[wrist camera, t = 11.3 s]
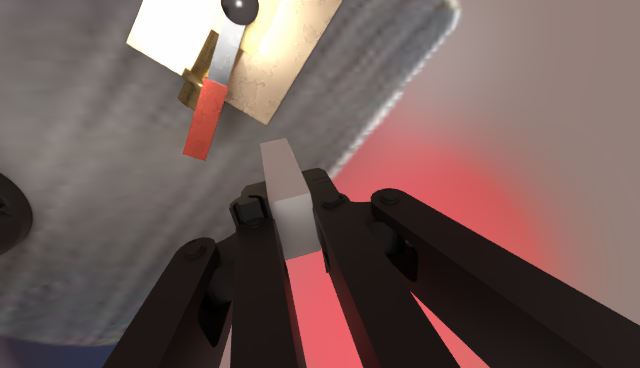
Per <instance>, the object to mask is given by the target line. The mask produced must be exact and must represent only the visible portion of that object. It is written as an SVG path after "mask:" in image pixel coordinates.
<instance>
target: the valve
mask: <svg viewBox="0 0 640 368" xmlns="http://www.w3.org/2000/svg"><path fill="white" fill-rule="evenodd" d="M341 2H342V0H259V12H258V15H257V18H256V19H255V21H254V22H253V23H251V24H250V25H247V26H245V29H244V32H243V35H242V39H241V42H240V45H239V48H238V51H237V55H236V58H235V61H234V64H233V67H232V71H231V74H230V77H229V80H228V83H227V85H229V88H228V91H227V94H226V97H225V100H224V101H226V102H228V103H229V104H231V105H233V106H234V107H236V108H238V109H239V110H241V111H243V112H245V113H246V114H248V115H250V116H251V117H253V118H255V119H256V120H258V121H260V122H262V123H263V124H265V125H267V124H268V123H269V121H270V119H271V118H272V116H273V114H274V113H275V111H276V109H277V108H278V106H279V104H280V103H281V101H282V99H283V98H284V96H285V94H286V93H287V91H288V90H289V88H290V86H291V85H292V83H293V81H294V80H295V78H296V76H297V75H298V73H299V71H300V70H301V68H302V66H303V65H304V63H305V61H306V60H307V58H308V56H309V55H310V53H311V52H312V50H313V48H314V47H315V45H316V43H317V42H318V40H319V38H320V37H321V35H322V33H323V32H324V30H325V28H326V27H327V25H328V23H329V22H330V20H331V18H332V17H333V15H334V13H335V12H336V10H337V9H338V7H339V5H340V4H341ZM224 17H225V14H224V12H223V10H222V7H221V3H220V0H144V1H143V4H142V6H141V9H140V11H139V13H138V16H137V18H136V21H135V23H134V26H133V28H132V31H131V33H130V35H129V38H128V40H127V44H129V45H131V46H132V47H134V48H136V49H137V50H139V51H141V52H142V53H144V54H146V55H148V56H149V57H151V58H153V59H154V60H156V61H158V62H159V63H161V64H163V65H165V66H166V67H168V68H170V69H171V70H173V71H175V72H176V73H178V74H180V75H181V76H182V78H183V79H184V80H185V83H184V85H183V87H182V89H181V91H180V93H179V95H178V99H179V100H180V101H181V102H182V103H183V104H184V105H186V106H187V107H189V108H191V109H193V110H195V109H196V106H197V102H198V98H199V95H200V91H201V88H202V84H203V81H204V78H205V77H206V76H208V73H209V69H210V66H211V62H212V59H213V55H214V52H215V48H216V45H217V41H218V38H219V34H220V31H221V27H222V24H223V20H224Z"/></svg>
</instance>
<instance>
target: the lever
mask: <svg viewBox="0 0 640 368" xmlns="http://www.w3.org/2000/svg"><path fill="white" fill-rule="evenodd" d="M220 3H221V7H222V10H223V12H224V14H225V17H224V20H223V24H222V27H221V31H220V34H219V38H218V41H217V45H216V48H215V52H214V55H213V59H212V62H211V66H210V69H209V73H208V76H206V77H205V78H204V81H203V84H202V88H201V91H200V95H199V98H198V102H197V106H196V109H195V113H194V116H193V120H192V123H191V127H190V130H189V134H188V137H187V141H186V145H185V148H184V152H183V154H184V155H188V156H191V157H194V158H197V159H201V160H204V161H205V160H206V157H207V154H208V151H209V148H210V145H211V142H212V138H213V135H214V132H215V129H216V126H217V123H218V119H219V116H220V113H221V110H222V107H223V104H224V100H225V97H226V94H227V91H228V88H229V85H227V83H228V80H229V77H230V74H231V71H232V67H233V64H234V61H235V58H236V55H237V51H238V48H239V45H240V42H241V39H242V35H243V32H244V29H245V26H247V25H250V24H251V23H253V22H254V21H255V19H256V18H257V15H258V12H259V0H220Z"/></svg>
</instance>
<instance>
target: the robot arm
mask: <svg viewBox="0 0 640 368" xmlns="http://www.w3.org/2000/svg"><path fill="white" fill-rule="evenodd" d="M260 148H261V155H262V162H263V168H264V175H265V181H264V182H260V183H256V184H252V185H248V186H246V187H245V188H244V189H243V191H242V192H241V197H239V198H237V199H235V200H234V201H233V202H232V203H231V204H230V206H229V210H230V212H231V215H232V218H233V220H234V223H235V226H236V232H235V233H234V234H233V235H231V236H230V237H228V238H226V239H225V240H222V241H220V242H218V243H215V241H214V240H213V239H211V238H203V237H202V238H198V239H194V240H192V241H190V242H188V243H186V244H185V245H183V246H182V247H181V248H180V249H179V250H178V251H177V252H176V253H175V255H174V256H173V258H172V259H171V261H170V262H169V264H168V266H167V267H166V269H165V270H164V272H163V273H162V275H161V276H160V278H159V280H158V281H157V283H156V284H155V286H154V287H153V289H152V291H151V292H150V294H149V295H148V297H147V298H146V300H145V301H144V303H143V305H142V306H141V308H140V309H139V311H138V312H137V314H136V316H135V317H134V319H133V320H132V322H131V323H130V325H129V326H128V328H127V330H126V331H125V333H124V334H123V336H122V337H121V339H120V340H119V342H118V344H117V345H116V347H115V348H114V350H113V352H112V353H111V355H110V356H109V358H108V359H107V361H106V362H105V364H104V366H103V367H102V368H219V366H220V363H221V359H222V356H223V352H224V349H225V346H226V342H227V339H228V335H229V332H230V328H231V325H232V336H231V360H230V361H231V363H230V368H307V367H306V362H305V357H304V352H303V347H302V341H301V336H300V331H299V326H298V321H297V315H296V310H295V305H294V300H293V295H292V290H291V285H290V279H289V274H288V269H287V266H286V262H285V260H288V259H292V258H295V257H299V256H302V255H306V254H309V253H313V252H316V251H320V250H321V248H322V252H323V257H324V262H325V268H326V273H329V275H330V277H331V280H332V283H333V285H334V288H335V291H336V294H337V297H338V299H339V302H340V305H341V308H342V310H343V313H344V316H345V319H346V321H347V324H348V327H349V330H350V332H351V335H352V338H353V341H354V343H355V346H356V349H357V352H358V354H359V357H360V360H361V363H362V366H363V368H460V366H459V365H458V363H457V362H456V360H455V358H454V357H453V355H452V354H451V353H450V351H449V349H448V348H447V346H446V345H445V343H444V342H443V341H442V339H441V337H440V336H439V334H438V333H437V331H436V330H435V328H434V327H433V326H432V324H431V322H430V321H429V319H428V318H427V316H426V315H425V313H424V312H423V310H422V309H421V307H420V306H419V304H418V303H417V301H416V300H415V298H414V297H413V295H412V294H411V292H412V293H413V294H414V295H415V296H416V297H417V298H418V299H419V300H420V301H421V302H422V303H423V304H424V305H425V306H426V307H427V308H428V309H430V311H432V312H433V313H434V314H435V315H436V316H437V317H438V318H439V319H440V320H441V321H442V322H443V323H444V324H445V325H446V326H447V327H448V328H450V330H451V331H453V333H455V334H456V335H457V336H458V337H459V338H460V339H461V340H462V341H463V342H464V343H465V344H466V345H467V346H468V347H469V348H470V349H471V350H472V351H473V352H474V353H475V354H476V355H478V356H479V357H480V358H481V359H482V360H483V361H484V362H485V363H486V364H487V365H488V366H489V367H490V368H640V325H638V324H636V323H634V322H632V321H631V320H629V319H627V318H625V317H624V316H622V315H620V314H618V313H617V312H615V311H613V310H611V309H610V308H608V307H606V306H604V305H603V304H601V303H599V302H597V301H595V300H594V299H592V298H590V297H588V296H587V295H585V294H583V293H581V292H579V291H578V290H576V289H574V288H572V287H571V286H569V285H567V284H565V283H564V282H562V281H560V280H558V279H557V278H555V277H553V276H551V275H550V274H548V273H546V272H544V271H542V270H541V269H539V268H537V267H535V266H534V265H532V264H530V263H528V262H527V261H525V260H523V259H521V258H520V257H518V256H516V255H514V254H513V253H511V252H509V251H507V250H506V249H504V248H502V247H500V246H499V245H497V244H495V243H493V242H492V241H490V240H488V239H486V238H484V237H483V236H481V235H479V234H477V233H476V232H474V231H472V230H470V229H469V228H467V227H465V226H463V225H461V224H460V223H458V222H456V221H454V220H453V219H451V218H449V217H447V216H446V215H444V214H442V213H440V212H439V211H437V210H435V209H433V208H431V207H430V206H428V205H426V204H425V203H423V202H421V201H419V200H417V199H415V198H414V197H412V196H410V195H409V194H407V193H405V192H403V191H401V190H398V189H392V188H388V189H382V190H378V191H376V192H375V193H373V194H372V196H371V202H351V201H350V200H349V198H348V197H347V196H346V195H344V194H341V193H339V192H338V190H337V189H336V187H335V186H334V184H333V182H332V181H331V179H330V178H329V176H328V175H327V173H326V171H324V170H322V169H320V168H315V169H311V170H307V171H303V172H301V170H300V168H299V166H298V164H297V161H296V159H295V157H294V154H293V152H292V150H291V148H290V145H289V143H288V141H287V138H283V139H278V140H274V141H269V142H265V143H260ZM31 221H32V215H31V210H30V207H29V204H28V202H27V200H26V199H25V197H24V196H23V194H22V193H21V192H20V191H19V189H18V188H17V187H16V186H15V185H14V184H12V183H11V182H10V181H9V180H8V179H6V178H5V177H4V176H2V175H1V174H0V255H2V254H4V253H5V252H7V251H8V250H10V249H11V248H12V247H13V246H15V245H16V244H17V243H18V242H19V241H20V240H22V239H23V238H24V237H25V235H26V234H27V233H28V231H29V229H30V226H31ZM320 245H321V246H320ZM410 291H411V292H410Z"/></svg>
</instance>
